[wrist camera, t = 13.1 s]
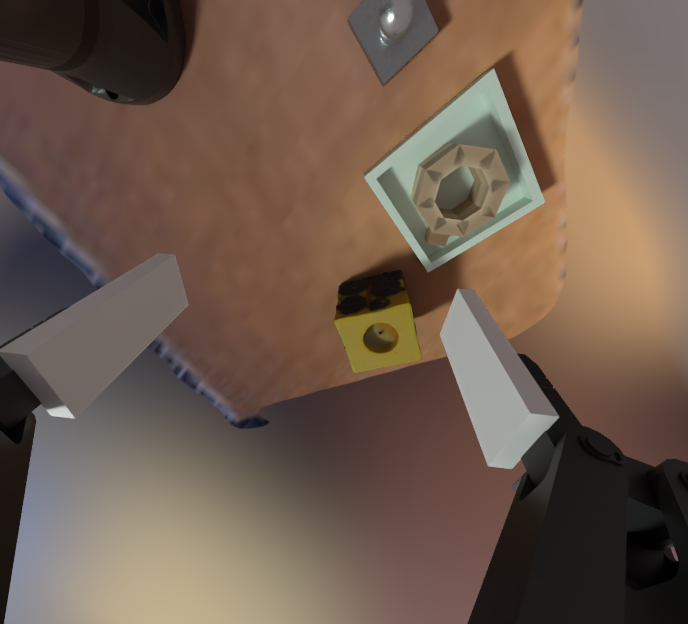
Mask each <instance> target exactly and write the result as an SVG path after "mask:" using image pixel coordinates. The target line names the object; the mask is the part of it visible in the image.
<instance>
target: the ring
mask: <svg viewBox="0 0 688 624" xmlns="http://www.w3.org/2000/svg"><path fill="white" fill-rule="evenodd" d="M460 166H465V167H468V169H469V171H470V173H471V175H472V177H473V179H474V182H473V184H472V187H471V190H470V193H469V196H468V199H467V200H465V201H464V202H462V203H461V204H459V205H458V206H456V207H455V208H453V209H452V210H449V209H442V208H438V207H437V205H436V203H435V199H436V196H437V192H438V189H439V185H440V182H441V180H442V179H443V178H445V177H446V176H447V175H449V174H450V173H451V172H453V171H454V170H455V169H457V168H458V167H460ZM509 183H510V180H509V178H508V175H507V173H506V171H505V168H504V166H503V164H502V161H501V159H500V157H499V154H498V152H497V150H496V149H491V148H484V147H477V146H470V145H463V144H455V143H445V144H444V145H443V146H442V147H440V148H439V149H438V150H436V151H435V152H434V153H433V154H431V155H430V156H429V157H428V158H426V159H425V160H424V161H422V162H421V163H420V164H419V165H418V168H417V172H416V176H415V180H414V184H413V189H412V193H411V197H410V198H411V199H412V201H413V203H414V204H415V206H416V207H417V209H418V211H419V212H420V214H421V216H422V217H423V219H424V220H425V222H426V224H427V225H428V228H427V232H426V235H425V240H426V242H427V244H433V245H440V246H446V244H447V241H448V238H449V235H452V236H460V237H465V236H466V235H468V234H469V233H471V232H473V231H474V230H476V229H477V228H479V227H481V226H482V225H484V224H485V223H487V222H489V221H490V220H492V219H493V218H495V216H496V214H497V212H498V209H499V207H500V205H501V202H502V200H503V197H504V195H505V193H506V190H507V188H508V186H509Z"/></svg>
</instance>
